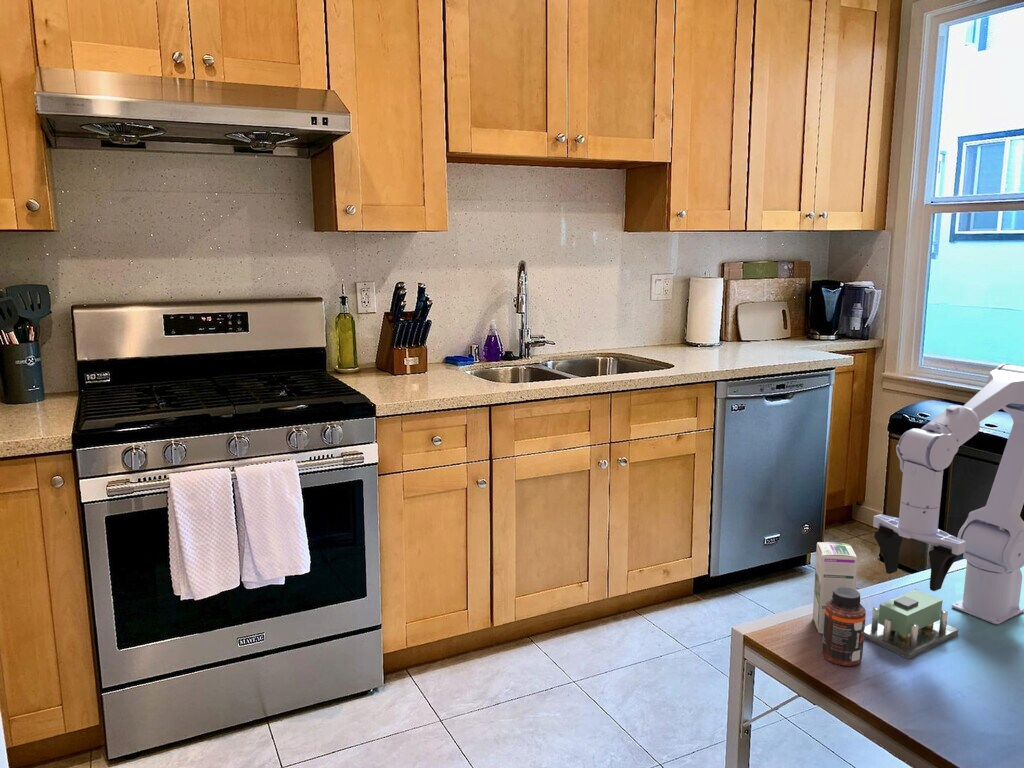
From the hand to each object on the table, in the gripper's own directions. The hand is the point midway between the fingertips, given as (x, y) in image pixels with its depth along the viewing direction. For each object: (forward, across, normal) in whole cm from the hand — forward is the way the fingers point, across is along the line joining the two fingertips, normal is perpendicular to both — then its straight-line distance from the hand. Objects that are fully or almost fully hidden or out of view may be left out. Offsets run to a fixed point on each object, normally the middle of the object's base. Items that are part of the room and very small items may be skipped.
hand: (912, 580), depth 128 cm
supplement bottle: (+10, -2, -16) cm, 19 cm away
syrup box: (+10, -8, -8) cm, 16 cm away
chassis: (+10, 0, 0) cm, 10 cm away
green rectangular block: (+7, 0, 0) cm, 7 cm away
